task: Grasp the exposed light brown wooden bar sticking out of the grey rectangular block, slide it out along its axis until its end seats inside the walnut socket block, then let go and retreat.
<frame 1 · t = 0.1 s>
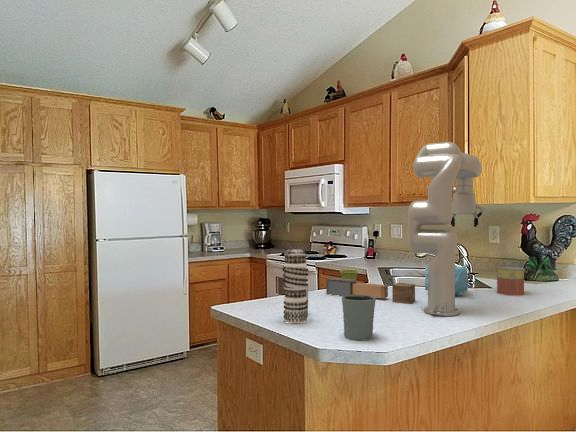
hand: (464, 226, 196), 31 cm above the countertop, tool pointing down, fingers open, 9 cm apart
light brown wooden bar: (358, 288, 190), point 4 cm above the countertop, slide at 0.0 cm
canned food: (510, 294, 196), on the countertop
grey green cup: (358, 336, 129), on the countertop
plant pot: (349, 288, 212), on the countertop
teakettle: (447, 295, 194), on the countertop
decorative candle: (295, 321, 147), on the countertop
walnut socket: (403, 301, 179), on the countertop
skincare box: (299, 315, 157), on the countertop
grey rectangular block: (341, 294, 195), on the countertop
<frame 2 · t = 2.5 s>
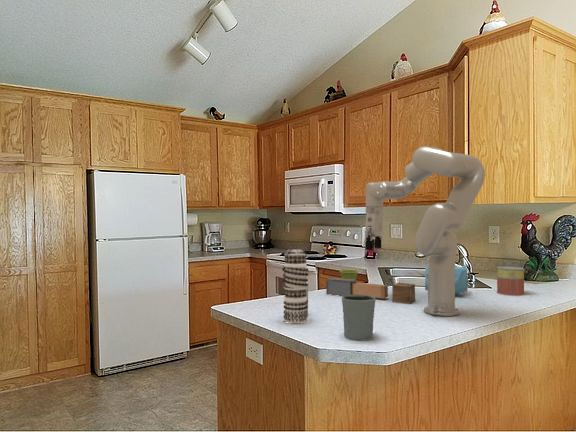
hand: (373, 249, 186), 22 cm above the countertop, tool pointing down, fingers open, 9 cm apart
nothing on the countertop moved.
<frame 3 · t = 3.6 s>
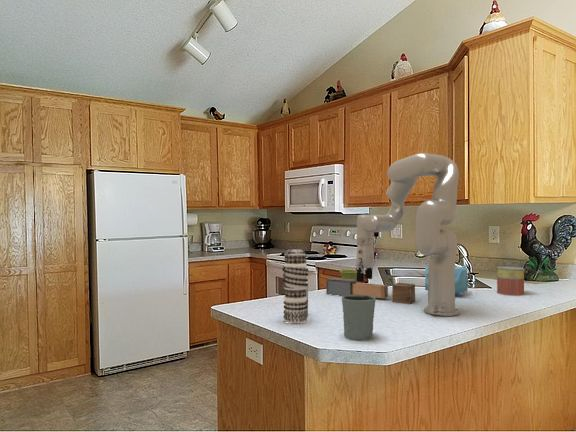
hand: (364, 280, 189), 8 cm above the countertop, tool pointing down, fingers open, 9 cm apart
nothing on the countertop moved.
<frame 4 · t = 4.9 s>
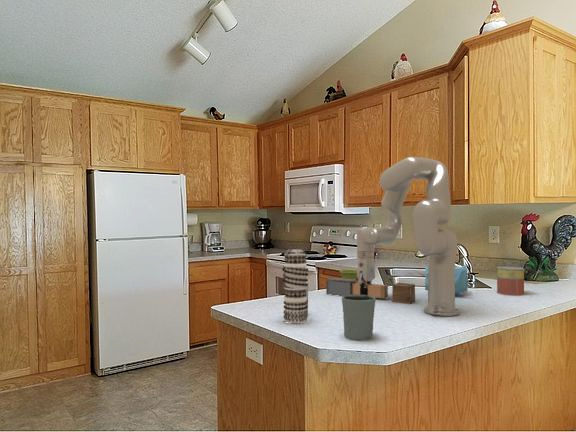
hand: (365, 295, 188), 1 cm above the countertop, tool pointing down, fingers closed on light brown wooden bar, 4 cm apart
light brown wooden bar: (358, 288, 190), point 4 cm above the countertop, slide at 0.0 cm, touching gripper
everything else where it was.
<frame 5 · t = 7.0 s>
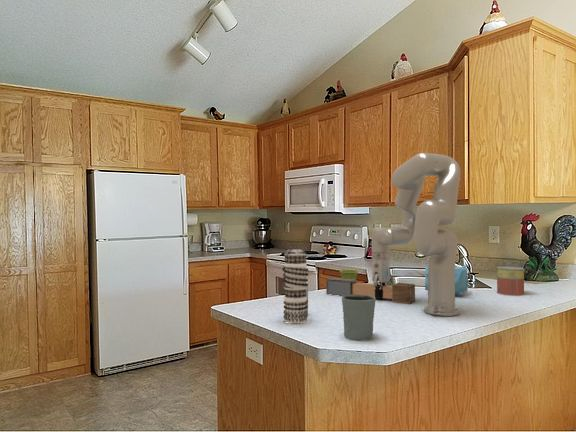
hand: (380, 297, 185), 1 cm above the countertop, tool pointing down, fingers closed on light brown wooden bar, 4 cm apart
light brown wooden bar: (373, 290, 186), point 4 cm above the countertop, slide at 7.0 cm, touching gripper
everything else where it was.
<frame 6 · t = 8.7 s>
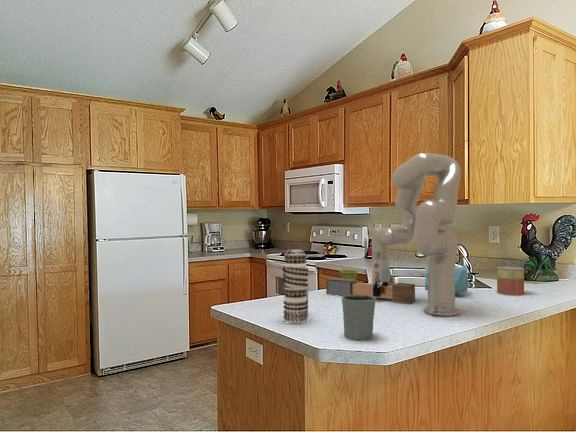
hand: (380, 294, 184), 2 cm above the countertop, tool pointing down, fingers open, 9 cm apart
light brown wooden bar: (373, 290, 186), point 3 cm above the countertop, slide at 7.0 cm
everything else where it was.
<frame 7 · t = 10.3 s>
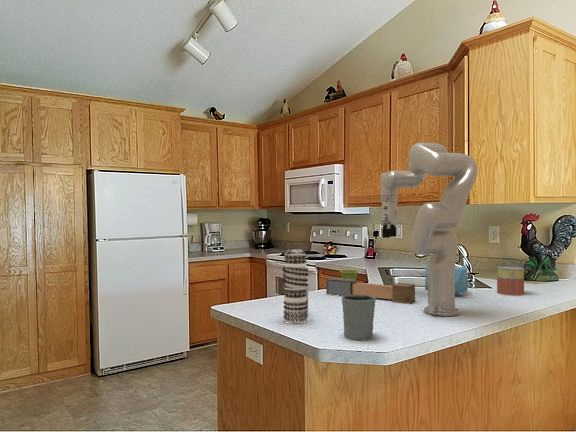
hand: (389, 237, 192), 27 cm above the countertop, tool pointing down, fingers open, 9 cm apart
nothing on the countertop moved.
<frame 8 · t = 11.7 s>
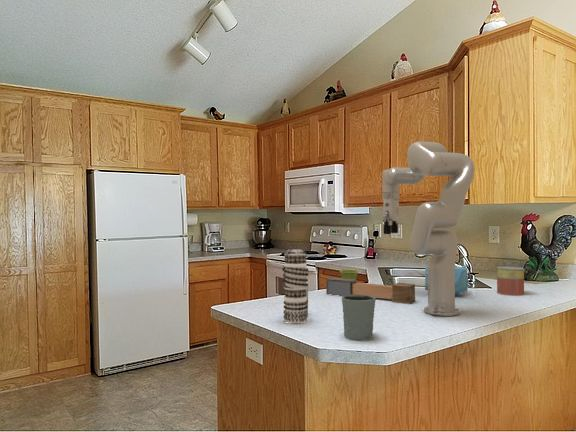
hand: (390, 233, 194), 28 cm above the countertop, tool pointing down, fingers open, 9 cm apart
nothing on the countertop moved.
at the end: light brown wooden bar slide at 7.0 cm; the gripper is holding nothing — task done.
